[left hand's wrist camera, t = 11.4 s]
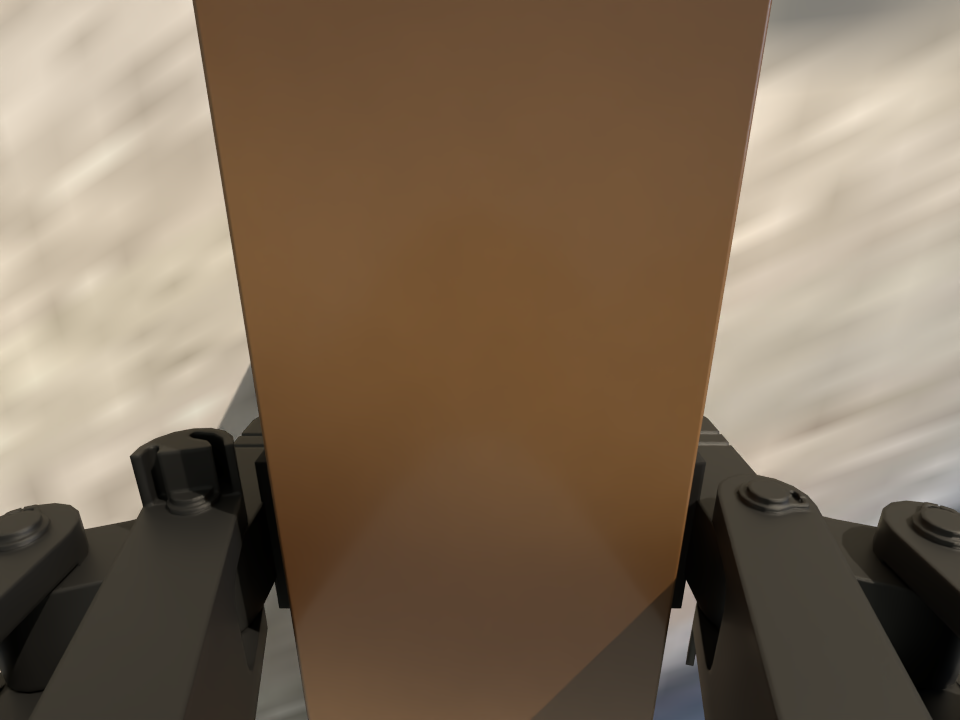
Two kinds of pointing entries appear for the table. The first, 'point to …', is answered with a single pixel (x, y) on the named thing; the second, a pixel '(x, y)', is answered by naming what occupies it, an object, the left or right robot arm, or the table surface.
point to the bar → (481, 329)
